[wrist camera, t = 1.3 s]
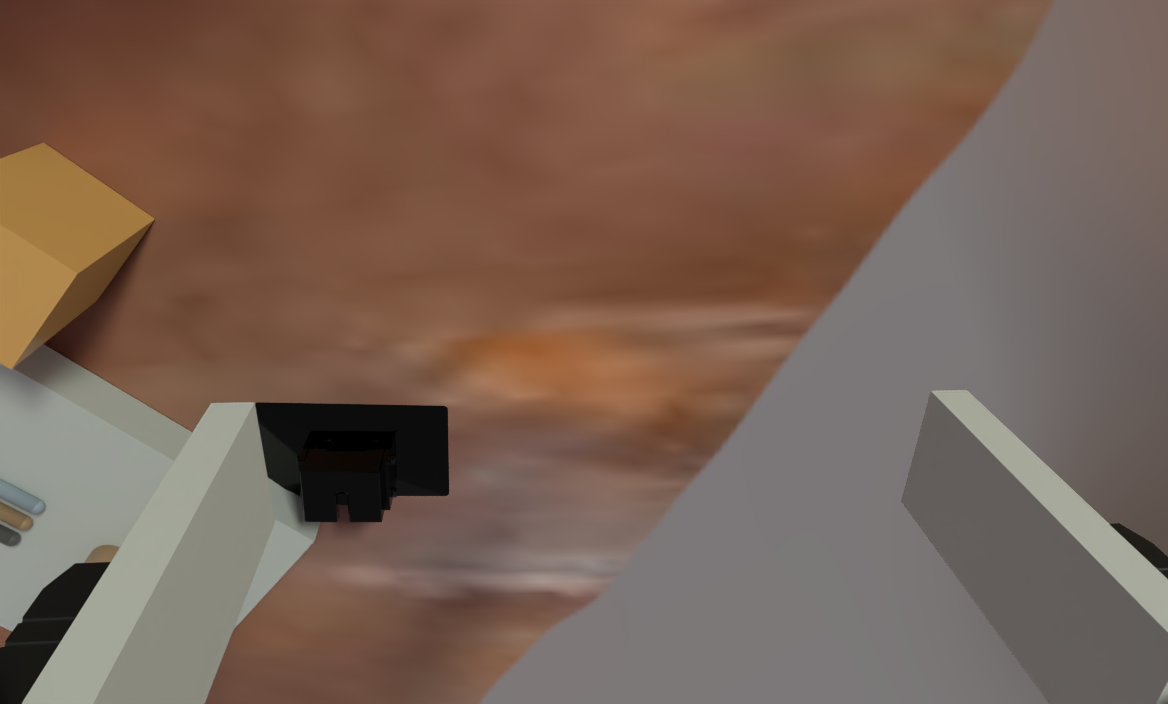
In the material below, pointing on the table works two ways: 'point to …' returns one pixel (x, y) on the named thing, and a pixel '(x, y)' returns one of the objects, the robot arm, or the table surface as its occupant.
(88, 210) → the cardboard-colored cube
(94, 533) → the junction plate
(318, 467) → the black power adapter
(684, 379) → the table surface
